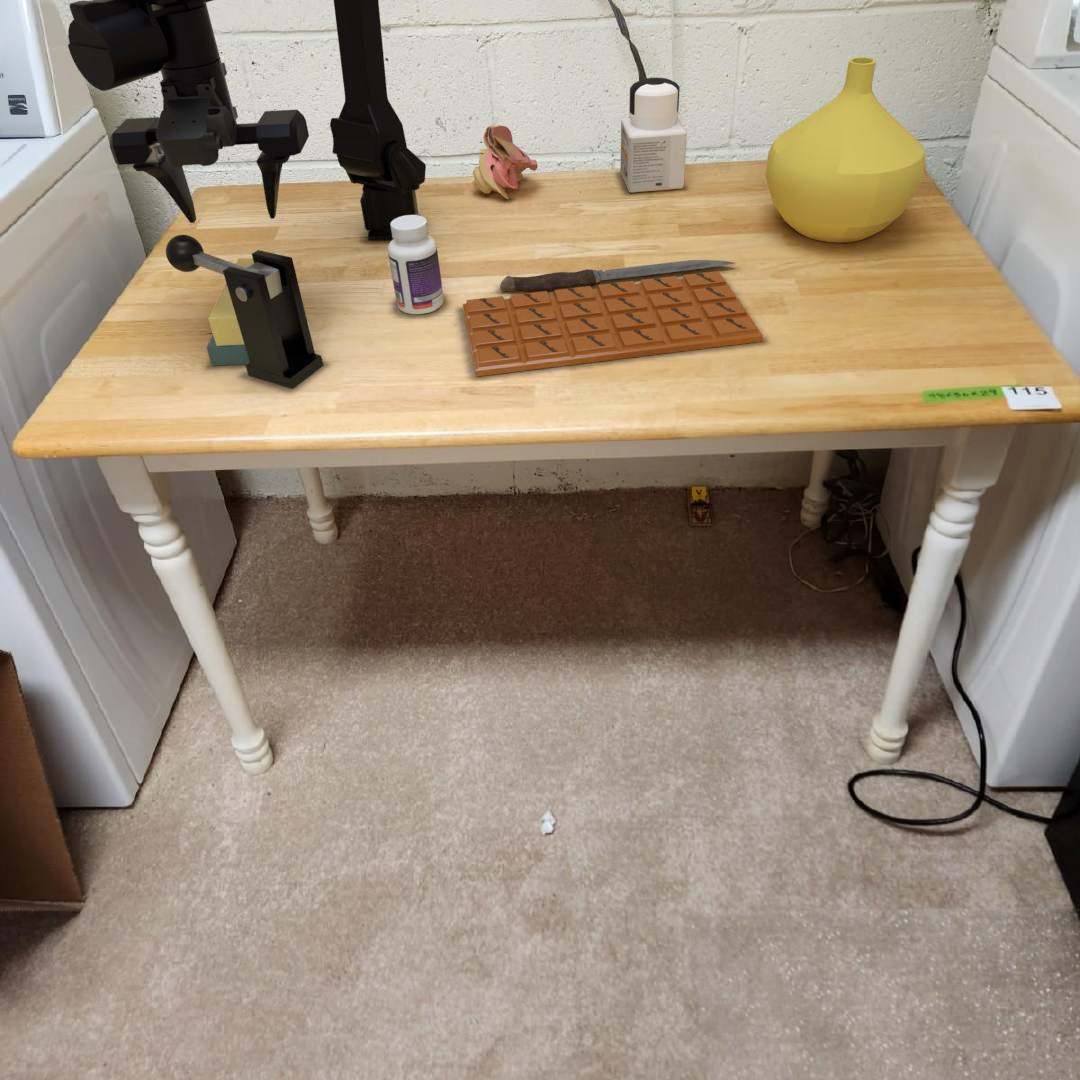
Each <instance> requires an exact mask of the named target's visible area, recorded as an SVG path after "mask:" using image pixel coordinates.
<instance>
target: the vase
mask: <svg viewBox="0 0 1080 1080" xmlns="http://www.w3.org/2000/svg"><path fill="white" fill-rule="evenodd" d="M876 63H877V60H876V59H875V58H872V57H867V56H856V57H851V58H849V59H848V64H847V70H846V76H845V82H844V84H843V88H842V89H841V91H840V92H838V94H837V95H836V96H835V97H834V98H833V99H832V100H830V101H829V102H827V103H826V104H824V105H822V106H821V107H820V108H819V109H817V110H816V111H814V112H813V113H811V114H810V115H808V116H807V117H806V118H804V119H802V120H801V121H799V122H798V123H796V124H794V125H793V126H790V128H788V129H786V130H785V131H784V132H782V133H780V134H779V135H778V136H777V137H776V138H775V139H774V140H773V143H772V144H771V146H770V149H769V151H768V153H767V158H766V170H765V180H766V182H767V185H768V190H769V193H770V197H771V201H772V203H773V204H774V207H775V208H776V210H777V211H778V212H779V215H781V217H782V219H783V220H784V222H785V223H787V225H788V226H790V227H791V228H792V229H794V230H795V231H796V232H797V233H798V234H800V235H802V236H804V237H806V238H809V239H811V240H816V241H820V242H827V243H852V242H858V241H861V240H864V239H867V238H869V237H872V236H874V235H876V234H878V233H879V232H881V231H882V230H885V228H887V227H888V226H889V225H891V224H892V223H893V222H894V221H895V220H896V219H898V218H899V217H900V216H902V214H903V213H904V211H905V210H906V208H907V207H908V205H909V204H910V203H911V201H912V200H913V198H914V196H915V195H916V193H917V192H918V190H919V189H920V187H921V186H922V183H923V180H924V176H925V172H926V167H927V162H926V155H925V149H924V145H923V144H922V143H921V142H920V141H919V140H918V139H917V138H916V137H915V136H914V135H913V134H912V133H911V132H910V131H909V130H907V128H905V126H903V125H902V124H901V123H900V122H899V121H898V120H897V119H896V118H895V117H894V116H893V115H892V113H890V112H889V111H888V110H887V108H886V107H884V106H883V105H882V104H881V103H880V102H879V101H878V99H877V97H876V95H875V93H874V91H873V80H874V75H875V70H876Z"/></svg>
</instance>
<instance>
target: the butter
mask: <svg viewBox="0 0 1080 1080" xmlns="http://www.w3.org/2000/svg"><path fill="white" fill-rule="evenodd" d="M235 264H237V265H239V266H242V267H245V268H247V267H249V266H251V265H252V264H254V261H253V257H242V258H241V257H240V258H238V259H237V260H236V263H235ZM207 320H208V323H209V327H210V330H211V332H212V335H213V336H214V339H215V342H216V345H217V346H226V345H245V344H244V341H243V338H242V334H241V331H240V328H239V324H238V321H237V317H236V314H235V311H234V307H233V304H232V301H231V297H230V294H229V290H228V287H227V284H226V283H225V285H224V287H223V288H222V290H221V292H220V294H219V296H218V298H217V300H216V302H215V304H214V306H213V308H212V310H211V312H210V314H209V316H208V319H207Z"/></svg>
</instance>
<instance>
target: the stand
mask: <svg viewBox="0 0 1080 1080" xmlns="http://www.w3.org/2000/svg"><path fill="white" fill-rule="evenodd" d="M251 258H253V261H254V263H256V262H259V263H262V264H264V265H267V266H270V267H273V268H276V269H278V270H279V273H280V279H281V285H282V292H281V293H280V294H278V295H276V296H275V297H273V298H272V299H271V298H270V295H269V291H268V287H267V283H266V279H265V276H264V275H263V274H258V273H254V272H250V271H246V270H242V269H238V268H234V267H228V268H227V269H225V270H223V274H224V275H223V277H224V280H225V284H227V287H228V290H229V294H230V297H231V301H232V304H233V307H234V311H235V314H236V317H237V321H238V324H239V328H240V331H241V334H242V338H243V341H244V344H245V348H246V351H247V354H248V358H249V361H250V363H248V364H245V369H246V372H247V375H248V376H250V377H252V378H256V379H259V380H263V381H266V382H270V383H273V384H276V385H279V386H283V387H286V388H290V389H294V388H295V387H297V386H298V385H299V384H301V383H302V382H303V381H304V380H306V379H307V378H308V377H310V376H311V375H313V374H314V373H315V372H316V371H318V370H320V369H321V367H323V366H324V361H323V357H322V355H321V354H318V353H316V351H315V347H314V343H313V339H312V335H311V330H310V327H309V323H308V318H307V314H306V310H305V306H304V302H303V297H302V293H301V288H300V284H299V281H298V277H297V272H296V268H295V264H294V260H293V257H291V256H286V255H282V254H277V253H275V252H274V253H273V252H270V251H265V250H261V249H257V250H256V251H254V252H252V253H251Z"/></svg>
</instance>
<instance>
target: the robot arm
mask: <svg viewBox="0 0 1080 1080" xmlns="http://www.w3.org/2000/svg"><path fill="white" fill-rule="evenodd" d="M212 1H214V0H78V1H73V2H70V3H69V7H68V8H69V11H70V12H71V16H72V18H73V19H72V20H71V21H70V23H69V26H68V29H67V30H68V32H67V33H68V35H67V36H68V37H67V38H68V44H67V48H68V51H69V54H70V56H71V58H72V61H73V63H74V64H75V66H76V68H77V70H78V71H79V73H80V74H81V76H82V77H83V79H84V80H86V82H88V84H89V85H90V86H92V87H94V88H95V89H97V90H99V91H101V92H106V91H109V90H113V89H115V88H119V87H121V86H123V85H127V84H130V83H132V82H136V81H138V80H142V79H145V78H148V77H150V76H153V75H156V74H158V73H159V72H160V73H161V76H162V79H161V80H160V81H159V85H160V92H161V95H162V110H161V112H160V113H159V114H160V115H159V116H153V117H135V118H126V119H124V121H123V122H122V123H121V124H119V126H118V127H117V128H116V129H115V130H114V131H113V132H112V133H111V135H110V137H109V149H110V152H111V155H112V157H113V161H114V163H115V164H116V165H119V166H123V165H132V168H133V169H134V170H135V171H136V172H143V173H146V174H147V175H149V176H151V177H153V178H154V179H155V180H157V182H158V183H159V184H160V185H161V186H162V187H163V188H164V190H165V191H166V192H167V193H168V195H169V196H170V197H171V199H172V200H173V201H174V203H175V204H176V206H177V208H179V210H180V211H181V213H182V214H183V215H184V217H185V218H186V219H187V221H188V222H189V223H191V224H195V222H196V221H197V215H196V209H195V203H194V200H193V197H192V194H191V190H190V187H189V184H188V181H187V177H186V174H185V171H184V168H183V166H192V165H193V166H197V165H199V166H202V167H208V166H212V165H214V164H216V162H218V160H219V157H220V156H219V153H220V152H219V150H224V149H223V148H229V147H234V146H239V145H240V146H241V145H255V144H256V145H257V147H258V150H259V151H261V152H260V153H259V155H258V158H257V159H256V161H255V163H256V165H257V166H258V168H259V171H260V173H261V174H260V175H261V179H262V186H263V192H264V199H265V205H266V208H267V213H268V215H269V219H271V220H272V219H273V220H274V219H275V218H276V215H277V209H278V208H277V207H278V198H279V190H280V182H281V181H280V180H281V175H282V174H281V173H282V169H283V165H284V164H286V163H287V162H288V161H289V159H290V157H291V156H296V155H299V154H301V153H302V151H303V150H304V148H305V145H306V143H307V141H308V139H309V137H310V133H309V129H308V124H307V120H306V117H305V116H304V114H302V112H301V111H300V110H299V109H282V110H280V109H279V110H265V111H264V112H263V113H262V115H261V116H260V118H259V120H258V121H257V122H250V123H237V119H238V118H239V114H238V111H237V106H233V102H232V99H231V95H230V91H229V86H228V84H227V79H226V76H227V75H228V71H227V67H226V62H222V59H221V56H220V51H219V48H218V44H217V41H216V36H215V32H214V28H213V25H212V20H211V17H210V13H209V9H208V5H207V4H208V3H209V2H212ZM333 6H334V16H335V25H336V32H337V40H338V49H339V50H338V51H339V56H340V57H339V59H340V66H341V74H342V83H343V84H342V85H343V92H344V104H343V105H342V108H341V110H340V113H339V115H338V117H332V118H331V119H330V122H329V128H330V131H331V135H332V154H333V155H336V159H337V163H338V164H339V166H340V167H341V168H343V170H345V171H344V172H345V173H346V175H347V177H348V179H349V181H350V183H351V184H354V185H355V184H358V185H362V194H361V197H360V200H359V202H360V207H361V214H362V220H363V223H364V225H363V226H364V230H365V231H367V232H368V233H367V239H368V240H369V241H381V240H382V241H383V240H393V237H392V232H391V222H392V221H393V220H394V219H396V218H398V217H401V216H405V215H419V216H422V215H421V214H420V213H419V208H418V207H419V206H418V200H417V194H416V191H417V190H419V189H420V185H422V184H423V183H424V184H425V181H426V171H427V170H426V169H427V165H426V163H425V162H424V161H423V160H422V159H420V158H419V157H418V156H417V155H416V154H415V153H414V152H412V151H411V150H410V149H409V148H408V145H407V140H406V135H405V131H404V126H403V123H402V121H401V119H400V118H399V116H398V114H397V113H396V111H395V109H394V108H393V106H392V104H391V103H390V101H389V98H388V89H387V78H386V67H385V56H384V55H385V54H384V46H383V36H382V25H381V14H380V13H381V11H380V4H379V0H333Z"/></svg>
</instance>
